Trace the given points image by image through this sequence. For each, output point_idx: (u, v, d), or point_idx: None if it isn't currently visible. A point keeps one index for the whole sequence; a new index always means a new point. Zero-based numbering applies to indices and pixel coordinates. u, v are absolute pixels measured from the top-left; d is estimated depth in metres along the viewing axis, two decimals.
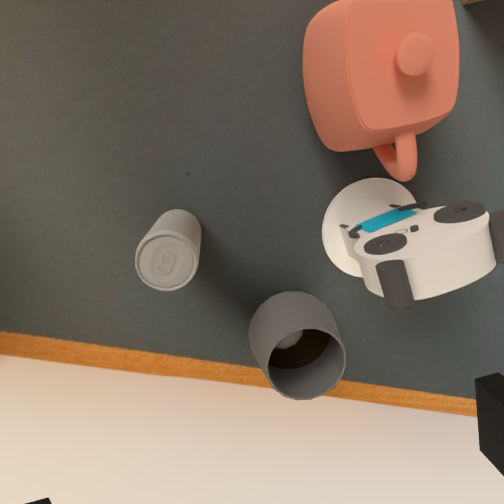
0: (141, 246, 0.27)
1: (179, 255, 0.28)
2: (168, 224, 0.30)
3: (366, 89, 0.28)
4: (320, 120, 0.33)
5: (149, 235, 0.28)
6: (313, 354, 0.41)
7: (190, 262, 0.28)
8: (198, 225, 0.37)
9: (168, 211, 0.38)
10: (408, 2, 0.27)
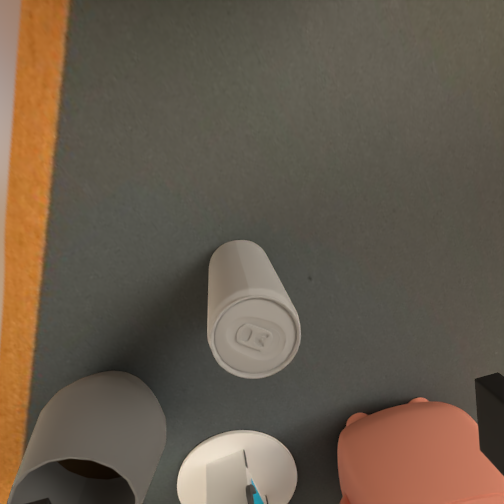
0: (282, 305, 0.18)
1: (265, 355, 0.19)
2: None
3: None
4: (380, 444, 0.29)
5: (293, 309, 0.19)
6: (69, 462, 0.29)
7: (254, 370, 0.19)
8: None
9: None
10: None
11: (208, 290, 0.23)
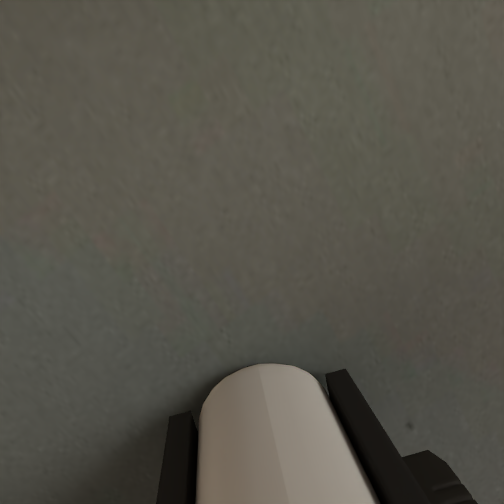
0: None
1: None
2: None
3: None
4: None
5: None
6: None
7: None
8: None
9: (333, 406, 0.13)
10: None
11: None
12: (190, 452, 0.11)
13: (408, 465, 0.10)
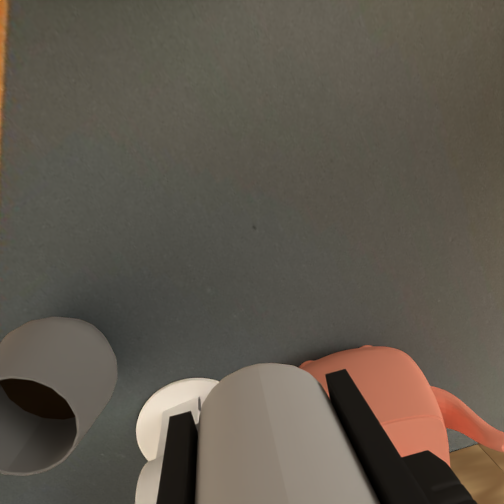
0: None
1: None
2: None
3: None
4: (321, 380, 0.31)
5: None
6: (25, 401, 0.30)
7: None
8: None
9: (332, 406, 0.13)
10: None
11: None
12: (190, 452, 0.11)
13: (408, 465, 0.10)
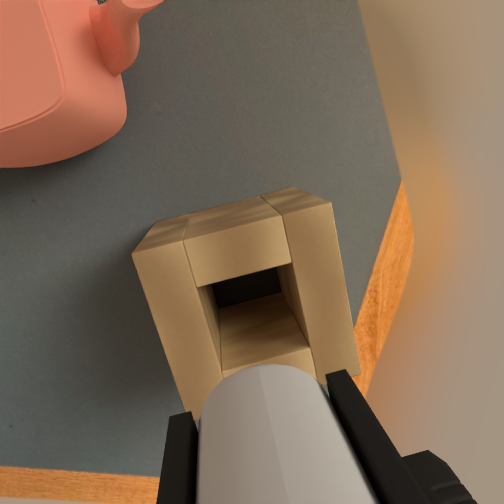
0: None
1: None
2: None
3: None
4: None
5: None
6: None
7: None
8: None
9: (333, 407, 0.13)
10: (27, 38, 0.17)
11: None
12: (190, 452, 0.11)
13: (408, 465, 0.10)
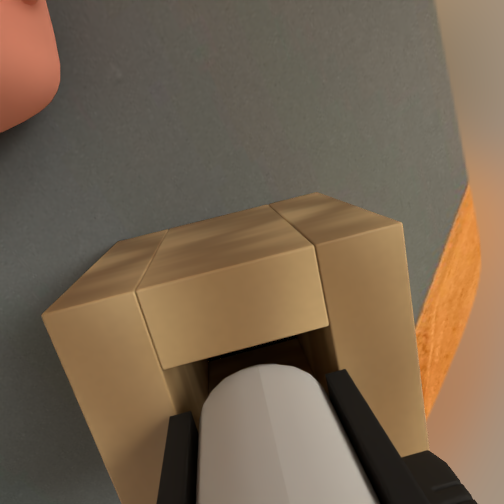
0: None
1: None
2: None
3: None
4: None
5: None
6: None
7: None
8: None
9: None
10: None
11: None
12: (190, 452, 0.11)
13: (408, 465, 0.10)
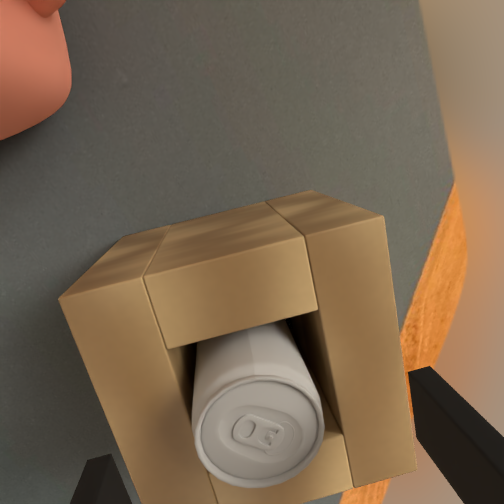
0: (301, 390, 0.13)
1: (272, 456, 0.13)
2: None
3: None
4: None
5: (315, 393, 0.13)
6: None
7: (256, 476, 0.13)
8: None
9: None
10: None
11: (197, 343, 0.18)
12: None
13: None
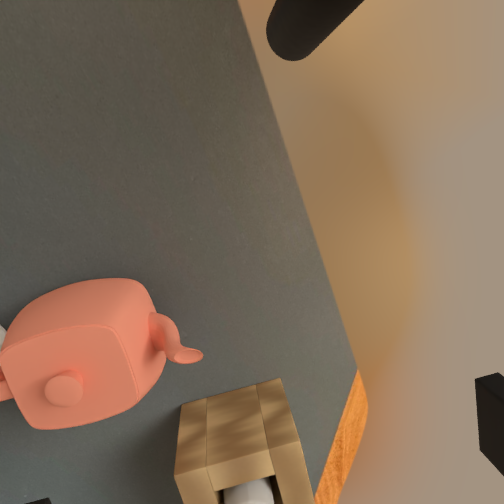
0: None
1: None
2: None
3: (37, 349, 0.29)
4: (38, 302, 0.33)
5: None
6: None
7: None
8: None
9: None
10: (119, 375, 0.30)
11: None
12: None
13: None
